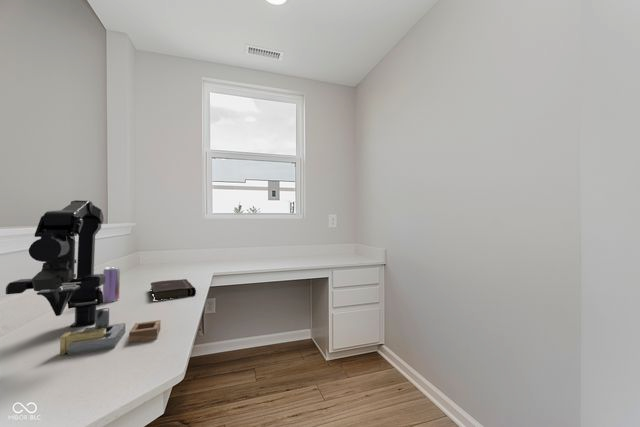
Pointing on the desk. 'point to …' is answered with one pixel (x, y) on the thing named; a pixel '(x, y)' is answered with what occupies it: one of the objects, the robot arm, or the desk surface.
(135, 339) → the brown square tray
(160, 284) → the diary
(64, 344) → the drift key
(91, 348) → the socket
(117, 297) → the beverage can
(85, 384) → the desk surface
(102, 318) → the peg
